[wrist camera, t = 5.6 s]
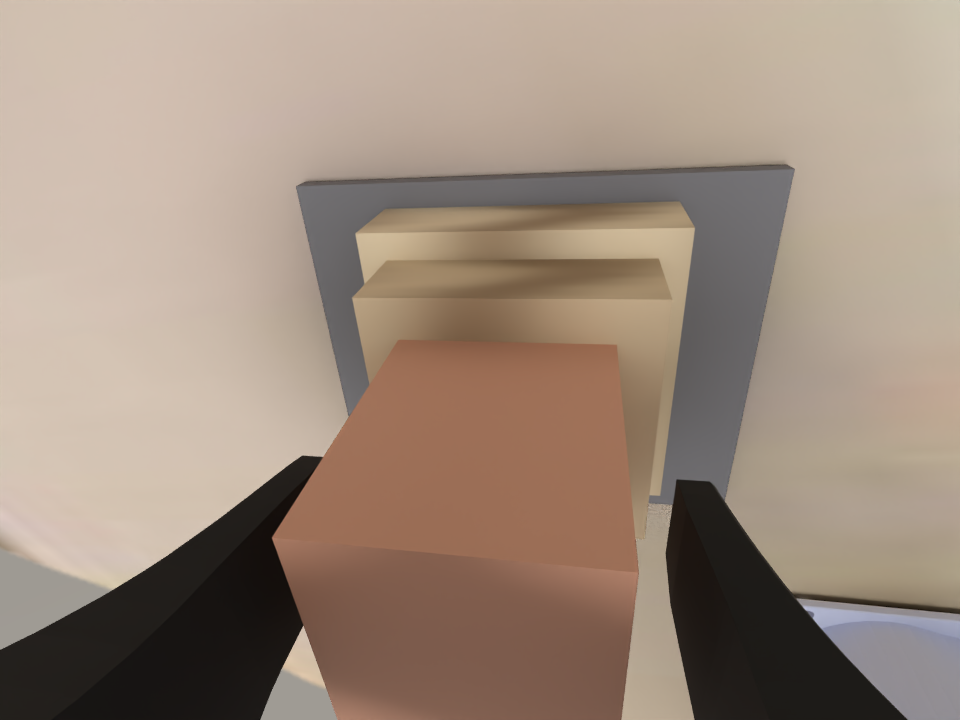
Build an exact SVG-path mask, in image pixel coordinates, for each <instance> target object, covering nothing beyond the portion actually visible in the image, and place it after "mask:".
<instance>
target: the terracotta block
mask: <svg viewBox="0 0 960 720" xmlns="http://www.w3.org/2000/svg"><path fill="white" fill-rule="evenodd" d="M272 539H273V542H274V545H275V548H276V550H277V553H278V556H279V559H280V562H281V564H282V567H283V570H284V573H285V575H286V578H287V581H288V584H289V586H290V589H291V592H292V595H293V597H294V600H295V603H296V606H297V608H298V611H299V614H300V617H301V620H302V622H303V625H304V628H305V631H306V633H307V636H308V639H309V642H310V644H311V647H312V650H313V653H314V655H315V658H316V661H317V664H318V666H319V669H320V672H321V675H322V678H323V680H324V683H325V686H326V689H327V691H328V694H329V697H330V700H331V702H332V705H333V708H334V711H335V713H336V716H337V719H338V720H621V717H622V709H623V701H624V692H625V684H626V675H627V667H628V659H629V650H630V642H631V634H632V625H633V617H634V608H635V600H636V592H637V583H638V575H639V570H638V560H637V549H636V539H635V529H634V518H633V508H632V498H631V487H630V477H629V466H628V456H627V446H626V435H625V425H624V414H623V404H622V394H621V383H620V373H619V363H618V352H617V345H608V344H565V343H521V342H477V341H434V340H398V341H397V343H396V344H395V346H394V347H393V349H392V350H391V352H390V354H389V355H388V357H387V358H386V360H385V361H384V363H383V365H382V366H381V368H380V369H379V371H378V372H377V374H376V375H375V377H374V379H373V380H372V382H371V383H370V385H369V386H368V388H367V390H366V391H365V393H364V394H363V396H362V397H361V399H360V401H359V402H358V404H357V405H356V407H355V408H354V410H353V411H352V413H351V415H350V416H349V418H348V419H347V421H346V422H345V424H344V426H343V427H342V429H341V430H340V432H339V433H338V435H337V437H336V438H335V440H334V441H333V443H332V444H331V446H330V448H329V449H328V451H327V452H326V454H325V455H324V457H323V458H322V460H321V462H320V463H319V465H318V466H317V468H316V469H315V471H314V473H313V474H312V476H311V477H310V479H309V480H308V482H307V484H306V485H305V487H304V488H303V490H302V491H301V493H300V494H299V496H298V498H297V499H296V501H295V502H294V504H293V505H292V507H291V509H290V510H289V512H288V513H287V515H286V516H285V518H284V520H283V521H282V523H281V524H280V526H279V527H278V529H277V531H276V532H275V534H274V535H273V537H272Z"/></svg>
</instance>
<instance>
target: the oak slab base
mask: <svg viewBox="0 0 960 720" xmlns="http://www.w3.org/2000/svg"><path fill="white" fill-rule="evenodd" d="M694 232H695V227H694V225H693V223H692V222H691V220H690V218H689V216H688V215H687V213H686V211H685V210H684V208H683V206H682V204H681V203H680V201H675V202H636V203H596V204H557V205H518V206H478V207H439V208H399V209H385V210H383V211H382V212H381V213H380V214H378V215H377V216H376V217H375V218H374V219H372V220H371V221H370V222H369V223H367V224H366V225H365V226H364V227H363V228H361V229H360V230H359V231H358V232H356V233H355V235H356V240H357V246H358V251H359V256H360V262H361V267H362V273H363V278H364V284H365V283H366V282H367V281H368V280H369V279H370V278H371V277H372V276H373V275H374V274H375V273H376V271H377V270H378V269H379V268H380V267H381V266H382V265H383V264H384V263H385V262H386V261H387V260H525V259H659V261H660V264H661V267H662V270H663V273H664V276H665V279H666V282H667V285H668V288H669V291H670V294H671V297H672V307H671V315H670V324H669V332H668V341H667V349H666V358H665V367H664V375H663V384H662V392H661V401H660V409H659V418H658V426H657V435H656V443H655V452H654V460H653V469H652V477H651V486H650V494H649V495H655V496H660V493H661V485H662V477H663V470H664V462H665V454H666V447H667V439H668V431H669V424H670V416H671V408H672V401H673V393H674V385H675V378H676V370H677V362H678V355H679V347H680V339H681V332H682V324H683V316H684V309H685V301H686V293H687V286H688V278H689V270H690V263H691V255H692V247H693V240H694Z"/></svg>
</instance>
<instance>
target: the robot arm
mask: <svg viewBox="0 0 960 720" xmlns="http://www.w3.org/2000/svg"><path fill="white" fill-rule="evenodd" d="M322 458H323V457H315V456H301V457H300V458H298V459H297V460H295V461H294V462H293V463H291V464H290V465H288V466H287V467H286V468H285V469H283V470H282V471H281V472H279V473H278V474H277V475H275V476H274V477H273V478H272V479H270V480H269V481H268V482H266V483H265V484H264V485H263V486H261V487H260V488H259V489H257V490H256V491H255V492H254V493H252V494H251V495H250V496H248V497H247V498H246V499H244V500H243V501H242V502H241V503H239V504H238V505H237V506H235V507H234V508H233V509H231V510H230V511H229V512H227V513H226V514H225V515H224V516H222V517H221V518H220V519H218V520H217V521H216V522H214V523H213V524H211V525H210V526H209V527H207V528H206V529H204V530H203V531H202V532H200V533H199V534H197V535H196V536H194V537H193V538H192V539H190V540H189V541H187V542H186V543H185V544H183V545H182V546H180V547H179V548H178V549H176V550H175V551H173V552H172V553H171V554H169V555H168V556H166V557H165V558H163V559H162V560H160V561H159V562H157V563H156V564H154V565H152V566H151V567H149V568H148V569H146V570H145V571H143V572H142V573H140V574H138V575H137V576H135V577H133V578H132V579H130V580H129V581H127V582H125V583H124V584H122V585H120V586H119V587H117V588H115V589H114V590H112V591H110V592H109V593H107V594H105V595H104V596H102V597H100V598H98V599H97V600H95V601H93V602H91V603H89V604H87V605H86V606H84V607H82V608H80V609H79V610H77V611H75V612H73V613H71V614H69V615H67V616H65V617H64V618H62V619H60V620H58V621H56V622H55V623H53V624H51V625H49V626H47V627H45V628H43V629H41V630H39V631H38V632H36V633H34V634H32V635H30V636H27V637H26V638H24V639H21V640H20V641H17V642H15V643H13V644H11V645H9V646H8V647H5V648H3V649H1V650H0V720H260V719H261V716H262V714H263V711H264V708H265V706H266V704H267V701H268V698H269V696H270V693H271V691H272V689H273V686H274V684H275V682H276V680H277V678H278V676H279V673H280V671H281V669H282V667H283V665H284V663H285V661H286V659H287V657H288V655H289V653H290V651H291V649H292V647H293V645H294V643H295V641H296V639H297V637H298V635H299V633H300V631H301V629H302V627H303V622H302V620H301V617H300V614H299V611H298V608H297V606H296V603H295V600H294V597H293V595H292V592H291V589H290V586H289V584H288V581H287V578H286V575H285V573H284V570H283V567H282V564H281V562H280V559H279V556H278V553H277V550H276V548H275V545H274V542H273V539H272V537H273V535H274V534H275V532H276V531H277V529H278V527H279V526H280V524H281V523H282V521H283V520H284V518H285V516H286V515H287V513H288V512H289V510H290V509H291V507H292V505H293V504H294V502H295V501H296V499H297V498H298V496H299V494H300V493H301V491H302V490H303V488H304V487H305V485H306V484H307V482H308V480H309V479H310V477H311V476H312V474H313V473H314V471H315V469H316V468H317V466H318V465H319V463H320V462H321V460H322ZM666 562H667V573H668V584H669V594H670V603H671V609H672V614H673V619H674V624H675V629H676V633H677V638H678V643H679V648H680V653H681V657H682V662H683V667H684V672H685V676H686V681H687V686H688V690H689V695H690V700H691V705H692V709H693V714H694V719H695V720H960V614H953V613H943V612H932V611H922V610H912V609H901V608H891V607H881V606H870V605H860V604H850V603H840V602H829V601H819V600H809V599H798V598H795V597H794V595H793V594H792V593H791V592H790V590H789V589H788V588H787V587H786V586H785V584H784V583H783V582H782V580H781V579H780V578H779V576H778V575H777V574H776V573H775V571H774V570H773V569H772V567H771V566H770V565H769V563H768V562H767V561H766V559H765V558H764V557H763V556H762V554H761V553H760V552H759V550H758V549H757V547H756V546H755V545H754V543H753V542H752V541H751V539H750V538H749V536H748V535H747V533H746V532H745V531H744V529H743V528H742V526H741V525H740V523H739V522H738V521H737V519H736V518H735V516H734V515H733V513H732V512H731V510H730V509H729V507H728V506H727V504H726V503H725V501H724V499H723V498H722V496H721V495H720V493H719V492H718V490H717V488H716V487H715V486H714V485H713V484H712V483H711V482H710V481H696V480H680V479H677V480H676V487H675V493H674V500H673V507H672V514H671V520H670V527H669V534H668V541H667V547H666Z"/></svg>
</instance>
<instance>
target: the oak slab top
mask: <svg viewBox="0 0 960 720" xmlns="http://www.w3.org/2000/svg"><path fill="white" fill-rule="evenodd" d="M352 300H353V305H354V310H355V315H356V320H357V325H358V330H359V335H360V340H361V345H362V350H363V355H364V360H365V365H366V370H367V375H368V380H369V385H370V383H371V382H372V380H373V379H374V377H375V375H376V374H377V372H378V371H379V369H380V368H381V366H382V365H383V363H384V361H385V360H386V358H387V357H388V355H389V354H390V352H391V350H392V349H393V347H394V346H395V344H396V343H397V341H398V340H434V341H477V342H521V343H565V344H608V345H617V352H618V363H619V373H620V383H621V394H622V404H623V414H624V425H625V435H626V446H627V456H628V466H629V477H630V487H631V498H632V508H633V518H634V529H635V538H637V539H644V537H645V529H646V520H647V512H648V503H649V494H650V486H651V477H652V469H653V460H654V452H655V443H656V435H657V426H658V418H659V409H660V401H661V392H662V384H663V375H664V367H665V358H666V349H667V341H668V332H669V324H670V315H671V307H672V297H671V294H670V291H669V288H668V285H667V282H666V279H665V276H664V273H663V270H662V267H661V264H660V261H659V259H525V260H387V261H386V262H385V263H384V264H383V265H382V266H381V267H380V268H379V269H378V270H377V271H376V273H375V274H374V275H373V276H372V277H371V278H370V279H369V280H368V281H367V282H366V283H365V284H364V285H363V287H362V288H361V289H360V290H359V291H358V292H357V293H356V294H355V295H354V296H353V297H352Z"/></svg>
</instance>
